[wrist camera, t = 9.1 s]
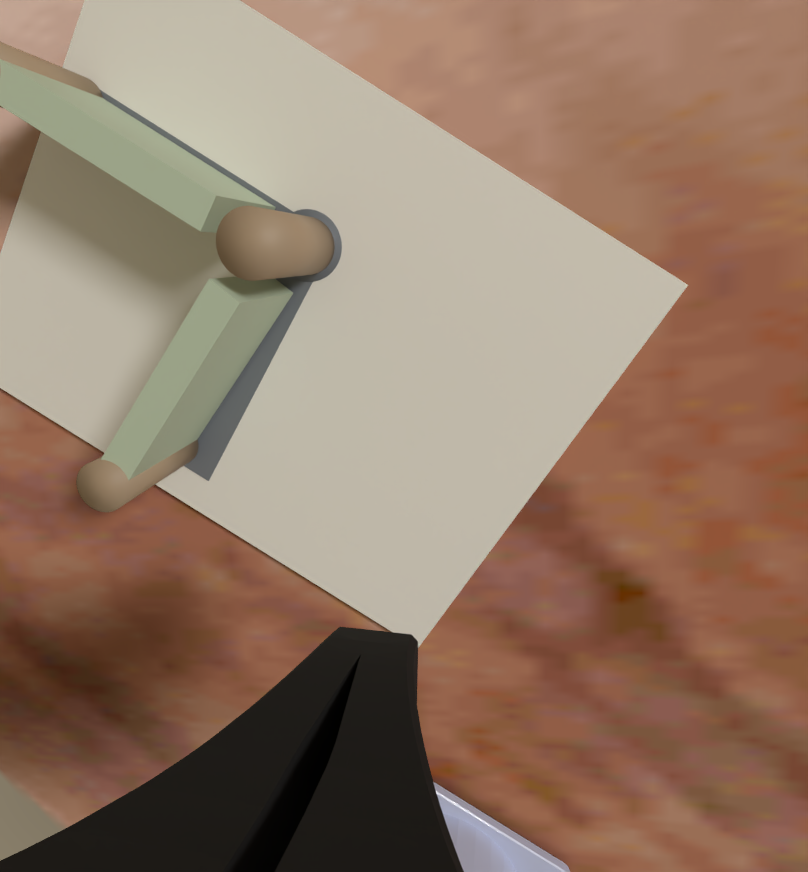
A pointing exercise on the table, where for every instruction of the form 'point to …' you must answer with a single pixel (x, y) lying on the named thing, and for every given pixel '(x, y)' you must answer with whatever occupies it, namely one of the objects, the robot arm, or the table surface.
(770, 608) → the table surface
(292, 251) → the fence fixed
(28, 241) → the card
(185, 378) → the fence panel
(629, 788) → the table surface
